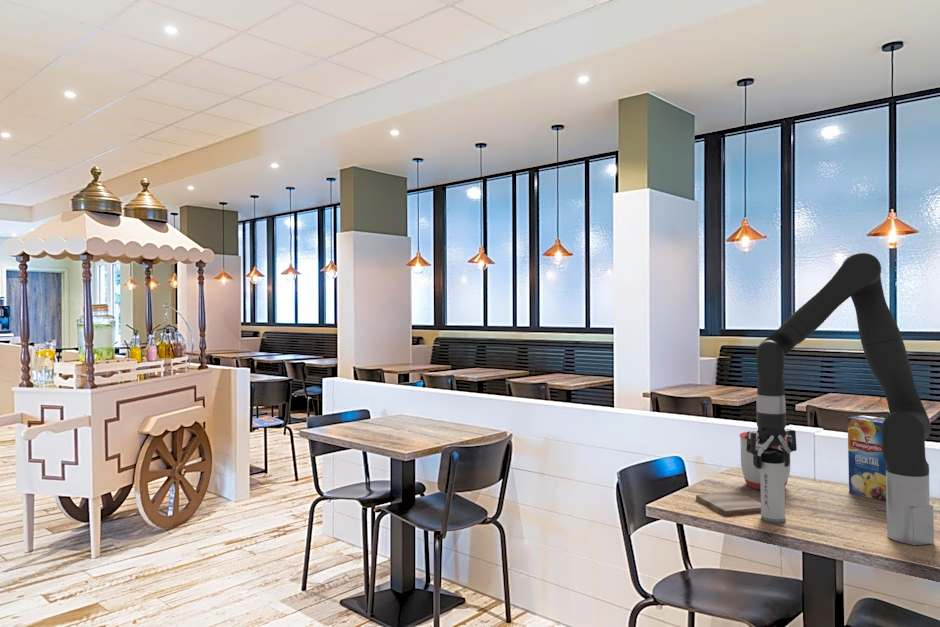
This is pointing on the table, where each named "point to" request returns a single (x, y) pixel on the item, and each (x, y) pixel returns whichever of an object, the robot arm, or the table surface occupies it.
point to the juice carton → (866, 457)
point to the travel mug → (772, 486)
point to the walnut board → (730, 503)
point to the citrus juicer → (748, 467)
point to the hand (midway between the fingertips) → (771, 467)
